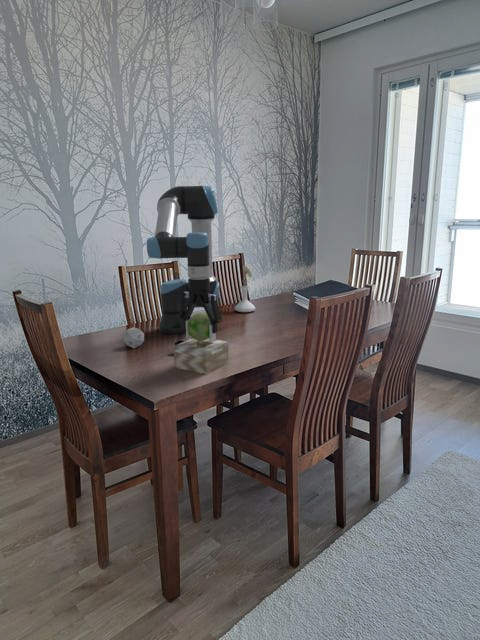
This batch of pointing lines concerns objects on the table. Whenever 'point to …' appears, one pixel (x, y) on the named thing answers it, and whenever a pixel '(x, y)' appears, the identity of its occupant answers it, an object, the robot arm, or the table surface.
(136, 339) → the grey faceted polyhedron
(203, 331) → the decorative ball
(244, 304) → the flower in vase
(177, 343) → the black box
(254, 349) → the table surface
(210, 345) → the display stand
